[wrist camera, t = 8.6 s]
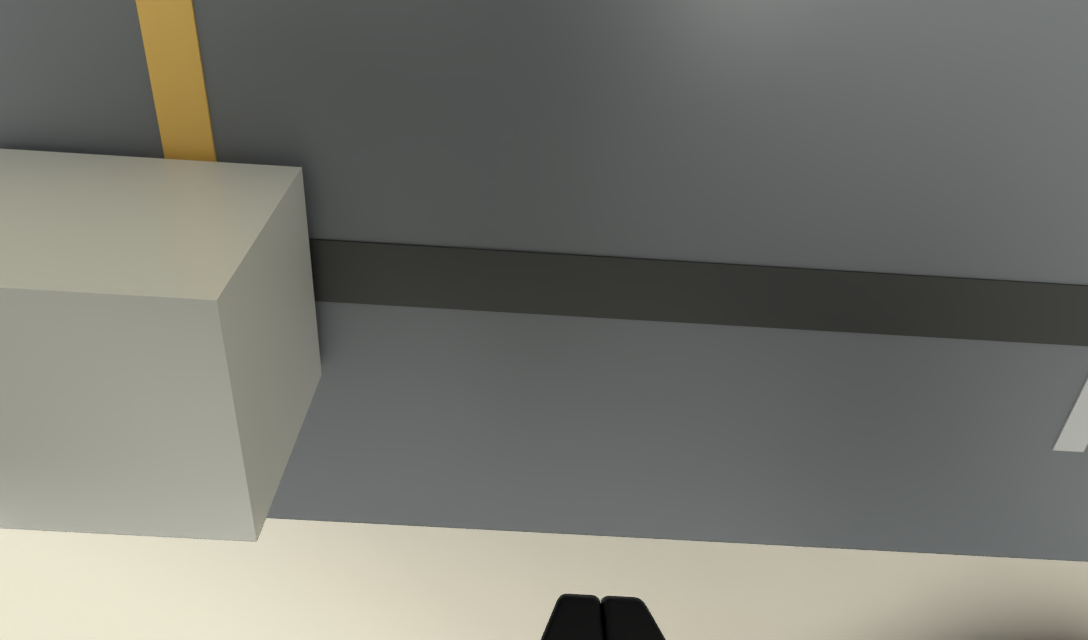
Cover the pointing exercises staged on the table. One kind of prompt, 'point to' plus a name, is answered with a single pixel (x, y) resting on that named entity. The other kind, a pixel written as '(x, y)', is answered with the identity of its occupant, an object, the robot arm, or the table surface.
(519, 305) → the console
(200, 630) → the table surface
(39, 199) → the fader tab
